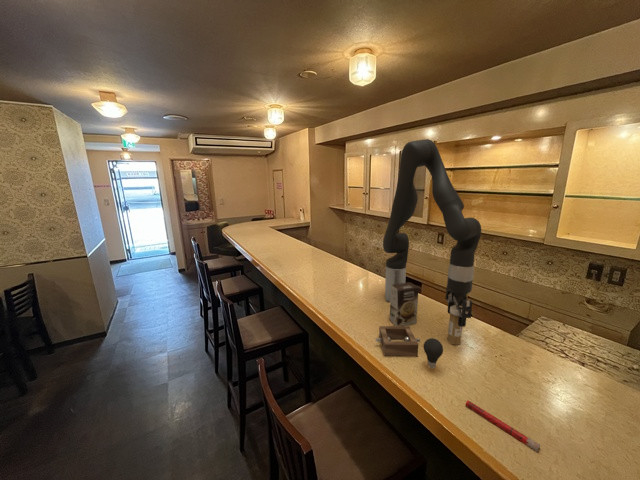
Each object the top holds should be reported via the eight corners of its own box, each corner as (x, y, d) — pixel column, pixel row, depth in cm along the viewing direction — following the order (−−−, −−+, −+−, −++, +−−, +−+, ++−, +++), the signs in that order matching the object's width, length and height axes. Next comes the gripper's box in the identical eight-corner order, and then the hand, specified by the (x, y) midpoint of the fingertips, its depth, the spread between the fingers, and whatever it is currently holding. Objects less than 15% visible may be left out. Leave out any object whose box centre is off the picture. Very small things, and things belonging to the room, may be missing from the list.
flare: (537, 454, 56) (538, 448, 56) (465, 407, 68) (465, 402, 67) (539, 449, 57) (540, 443, 57) (467, 404, 69) (468, 398, 68)
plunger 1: (375, 340, 93) (375, 334, 93) (390, 340, 93) (390, 334, 93) (376, 344, 91) (376, 338, 91) (391, 344, 91) (391, 339, 90)
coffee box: (397, 327, 103) (399, 290, 99) (389, 319, 109) (390, 284, 105) (417, 323, 105) (419, 287, 101) (407, 315, 111) (409, 281, 108)
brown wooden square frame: (379, 336, 98) (379, 325, 97) (408, 336, 97) (409, 326, 96) (384, 356, 87) (384, 344, 86) (417, 356, 86) (418, 344, 85)
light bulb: (425, 358, 85) (427, 332, 83) (443, 366, 82) (446, 338, 79) (419, 368, 81) (421, 340, 79) (438, 376, 78) (441, 348, 75)
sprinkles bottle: (460, 346, 91) (464, 312, 87) (446, 343, 93) (449, 309, 90) (461, 339, 95) (464, 306, 91) (447, 336, 97) (450, 303, 93)
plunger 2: (403, 340, 93) (403, 335, 92) (418, 340, 92) (418, 335, 92) (404, 345, 90) (405, 339, 90) (420, 345, 90) (420, 339, 90)
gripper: (440, 269, 95) (437, 309, 98) (458, 284, 81) (453, 330, 85) (461, 269, 94) (457, 309, 98) (483, 284, 80) (477, 331, 84)
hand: (455, 319), depth 91 cm, fingers open, 8 cm apart
